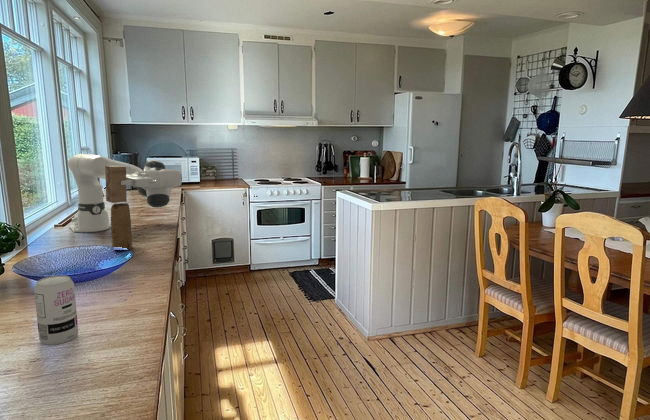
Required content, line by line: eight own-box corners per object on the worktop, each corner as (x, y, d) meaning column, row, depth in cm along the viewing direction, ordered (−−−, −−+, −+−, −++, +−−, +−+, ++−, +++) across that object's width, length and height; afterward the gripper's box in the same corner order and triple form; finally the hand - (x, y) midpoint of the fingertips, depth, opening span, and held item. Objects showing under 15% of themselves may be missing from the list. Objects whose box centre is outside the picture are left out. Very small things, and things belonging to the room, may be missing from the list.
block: (130, 251, 181) (128, 205, 178) (111, 252, 179) (108, 206, 175) (133, 245, 191) (131, 201, 188) (115, 246, 189) (112, 202, 185)
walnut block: (106, 200, 180) (105, 165, 177) (120, 199, 184) (119, 165, 182) (112, 202, 176) (111, 166, 174) (126, 201, 180) (126, 166, 178)
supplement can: (50, 331, 108) (45, 274, 105) (84, 330, 108) (79, 274, 106) (31, 346, 100) (25, 286, 97) (68, 345, 101) (62, 286, 98)
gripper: (160, 189, 183) (128, 191, 173) (137, 184, 196) (107, 187, 186) (159, 174, 182) (127, 176, 172) (137, 171, 195) (106, 172, 185)
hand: (116, 182), depth 179 cm, fingers closed on walnut block, 6 cm apart
